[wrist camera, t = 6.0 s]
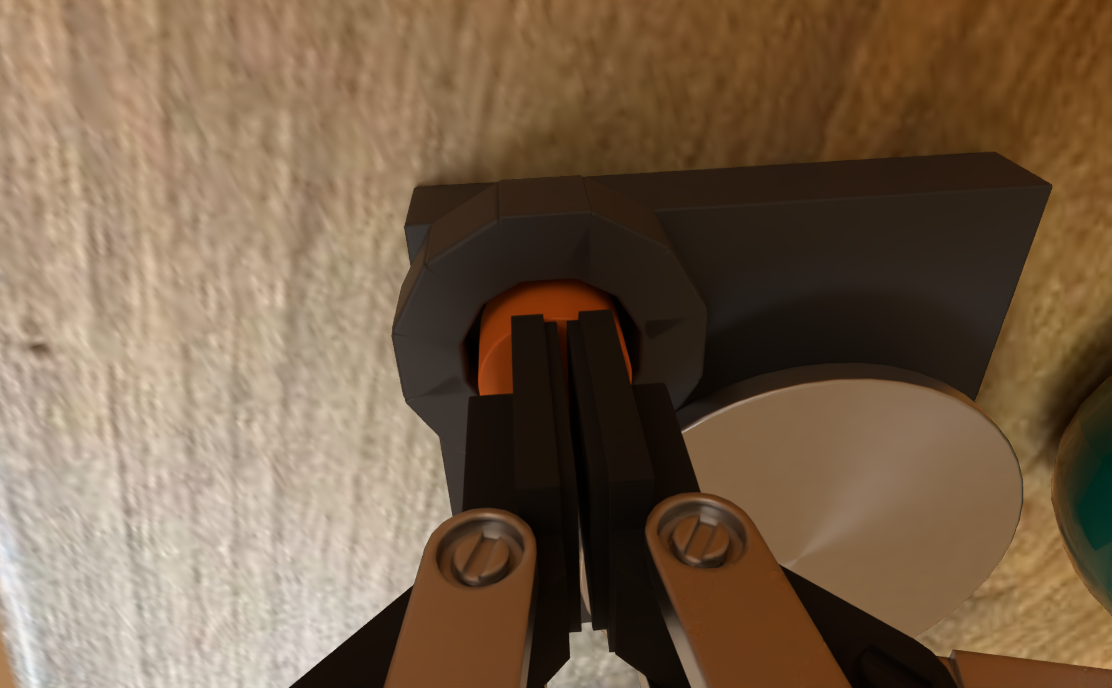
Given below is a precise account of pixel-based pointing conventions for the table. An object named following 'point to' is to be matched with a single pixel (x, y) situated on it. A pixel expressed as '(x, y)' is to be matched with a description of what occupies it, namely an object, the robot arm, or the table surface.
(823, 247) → the scale
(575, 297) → the button
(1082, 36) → the table surface
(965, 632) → the table surface
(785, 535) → the brushed metal disc
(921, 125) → the table surface
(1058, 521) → the sphere
